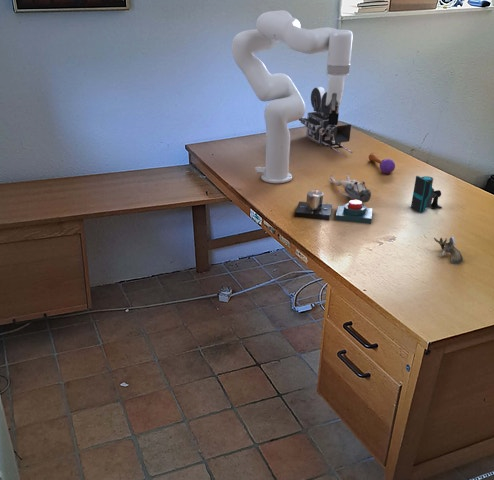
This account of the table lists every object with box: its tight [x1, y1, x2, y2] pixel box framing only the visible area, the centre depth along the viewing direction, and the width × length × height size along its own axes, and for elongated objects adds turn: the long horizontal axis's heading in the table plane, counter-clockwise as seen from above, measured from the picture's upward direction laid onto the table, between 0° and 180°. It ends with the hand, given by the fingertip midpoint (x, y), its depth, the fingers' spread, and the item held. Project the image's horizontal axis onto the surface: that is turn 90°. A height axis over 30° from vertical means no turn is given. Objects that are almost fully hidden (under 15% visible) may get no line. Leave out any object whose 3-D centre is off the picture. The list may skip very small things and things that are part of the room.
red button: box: [348, 199, 363, 210], centre depth 192 cm, size 4×4×2 cm
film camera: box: [298, 86, 354, 155], centre depth 261 cm, size 40×12×24 cm, turn 17°
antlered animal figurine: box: [433, 235, 464, 265], centre depth 166 cm, size 8×7×9 cm
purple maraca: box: [368, 152, 396, 175], centre depth 236 cm, size 6×6×20 cm
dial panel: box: [294, 201, 334, 221], centre depth 197 cm, size 12×10×2 cm
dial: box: [305, 189, 324, 211], centre depth 195 cm, size 6×6×6 cm
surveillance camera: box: [410, 175, 443, 214], centre depth 196 cm, size 6×12×10 cm
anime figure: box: [329, 173, 372, 204], centre depth 210 cm, size 10×7×30 cm
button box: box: [334, 202, 374, 225], centre depth 193 cm, size 12×9×4 cm
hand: (333, 124), depth 198 cm, fingers closed
